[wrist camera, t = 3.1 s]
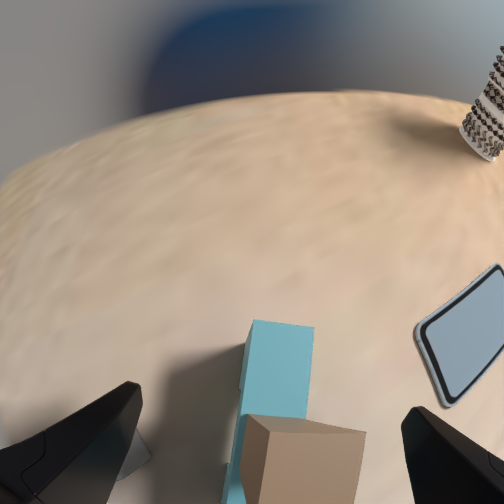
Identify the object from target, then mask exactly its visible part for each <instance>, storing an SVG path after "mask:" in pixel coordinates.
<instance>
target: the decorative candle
mask: <svg viewBox="0 0 504 504" xmlns="http://www.w3.org/2000/svg"><path fill="white" fill-rule="evenodd" d="M500 49H501V51H502V52H503V53H504V46H500ZM497 60H498V62H499V63H496V62H495V63H494V64H493V66H494V67H495V69H496V71H495V72H490V74H489V75H490V76H489V77H488V79H489V80H490V81H489V83H488V85H487V86H486V88H485V90H484V92H482V93H481V95H480V97H479V99H476V100H475V103H476V106H472V107H471V109H472V112H470V113H468V114H467V115H466V118H467V119H465V120H463V122H462V124H463V125H462V126H460V127H459V132H460V134H461V135H462V137H463V138H464V140H465V141H466V142H467V143H468V144H469V145H470V146H471V147H472V148H473V149H474V150H475V151H476V152H477V153H478V154H479V155H480V156H482V157H483V158H484V159H486V160H488V161H489V162H494V160H495V157H496V156H499V154H500V150H504V54H503V56H499V55H497Z"/></svg>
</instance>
